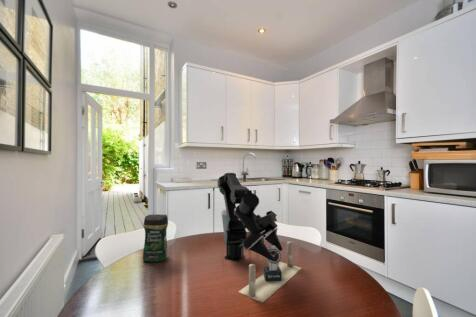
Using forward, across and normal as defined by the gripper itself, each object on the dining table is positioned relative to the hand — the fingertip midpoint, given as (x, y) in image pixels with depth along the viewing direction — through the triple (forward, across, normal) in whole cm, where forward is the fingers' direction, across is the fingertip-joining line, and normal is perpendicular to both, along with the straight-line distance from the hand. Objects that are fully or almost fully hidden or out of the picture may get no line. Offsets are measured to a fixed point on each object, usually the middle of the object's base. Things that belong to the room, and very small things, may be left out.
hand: (277, 254), depth 80 cm
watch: (+5, 0, +8) cm, 9 cm away
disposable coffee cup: (-21, +32, +34) cm, 51 cm away
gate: (+6, 0, +8) cm, 9 cm away
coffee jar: (-29, -9, +42) cm, 52 cm away
